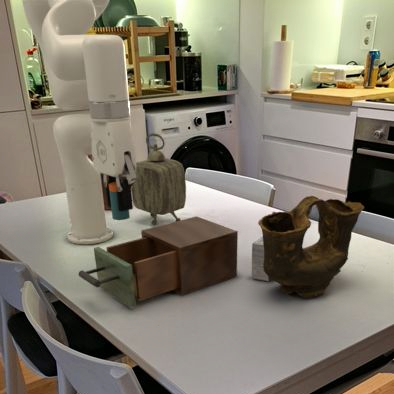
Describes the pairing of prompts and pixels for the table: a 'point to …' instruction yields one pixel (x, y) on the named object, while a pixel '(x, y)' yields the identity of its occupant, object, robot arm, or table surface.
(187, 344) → the table surface
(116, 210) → the glue stick
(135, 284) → the drawer
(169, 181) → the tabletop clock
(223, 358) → the table surface
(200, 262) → the cabinet
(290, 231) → the pottery vessel
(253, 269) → the medicine box
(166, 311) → the table surface
